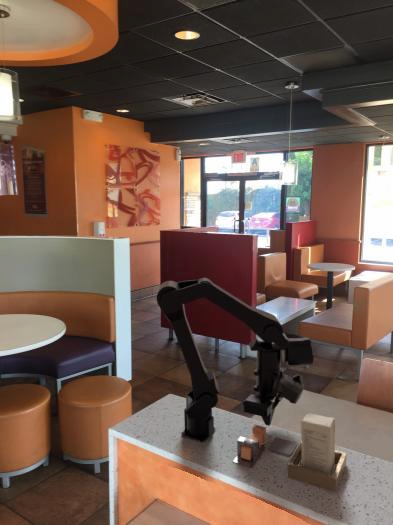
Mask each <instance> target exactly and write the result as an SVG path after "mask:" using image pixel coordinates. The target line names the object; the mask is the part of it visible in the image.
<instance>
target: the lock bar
mask: <svg viewBox="0 0 393 525" xmlns="http://www.w3.org/2000/svg"><path fill="white" fill-rule="evenodd" d="M248 439H252V440H255V441H259V448H260V446H261V445H264V444H265V443H266V442H267V427H266V426H262V425H259V424H253V426H252V433H251V435H250V436H249V438H248ZM252 457H253V447H250V446H247V445H243V446H242V447H241V458H244V459H247V460H251V459H252Z"/></svg>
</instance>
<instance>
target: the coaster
mask: <svg viewBox="0 0 393 525" xmlns="http://www.w3.org/2000/svg"><path fill="white" fill-rule="evenodd" d="M298 446H299V443H298V442H296V441H292V440H288V439H286V438H282V437H278V436H275V437H274V438H273V439H272V441H271V442H270V443H269V445H268V446H267V448H266V451H270V452H272V453H275V454H279V455H282V456H287V457H289V458H292V456H293V454H294V453H295V451H296V449H297V448H298Z"/></svg>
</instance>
